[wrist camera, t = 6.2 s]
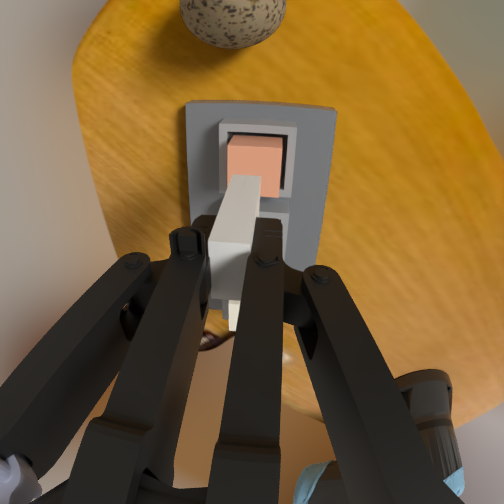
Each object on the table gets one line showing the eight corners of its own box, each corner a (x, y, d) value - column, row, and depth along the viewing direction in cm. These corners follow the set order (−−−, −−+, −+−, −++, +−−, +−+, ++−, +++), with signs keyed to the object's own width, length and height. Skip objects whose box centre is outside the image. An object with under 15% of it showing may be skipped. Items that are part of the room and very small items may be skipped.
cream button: (268, 311, 32) (266, 333, 30) (232, 309, 33) (229, 330, 30) (270, 285, 30) (269, 307, 28) (232, 282, 31) (228, 303, 28)
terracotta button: (279, 182, 25) (278, 197, 22) (233, 179, 25) (227, 194, 22) (282, 137, 22) (282, 148, 20) (233, 135, 23) (227, 145, 20)
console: (304, 304, 37) (305, 332, 33) (201, 295, 37) (193, 323, 34) (333, 107, 24) (342, 116, 21) (191, 100, 25) (176, 108, 21)
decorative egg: (301, -1, 19) (313, -33, 11) (256, 65, 23) (243, 67, 15) (225, -36, 17) (196, -80, 9) (182, 29, 21) (132, 18, 13)
